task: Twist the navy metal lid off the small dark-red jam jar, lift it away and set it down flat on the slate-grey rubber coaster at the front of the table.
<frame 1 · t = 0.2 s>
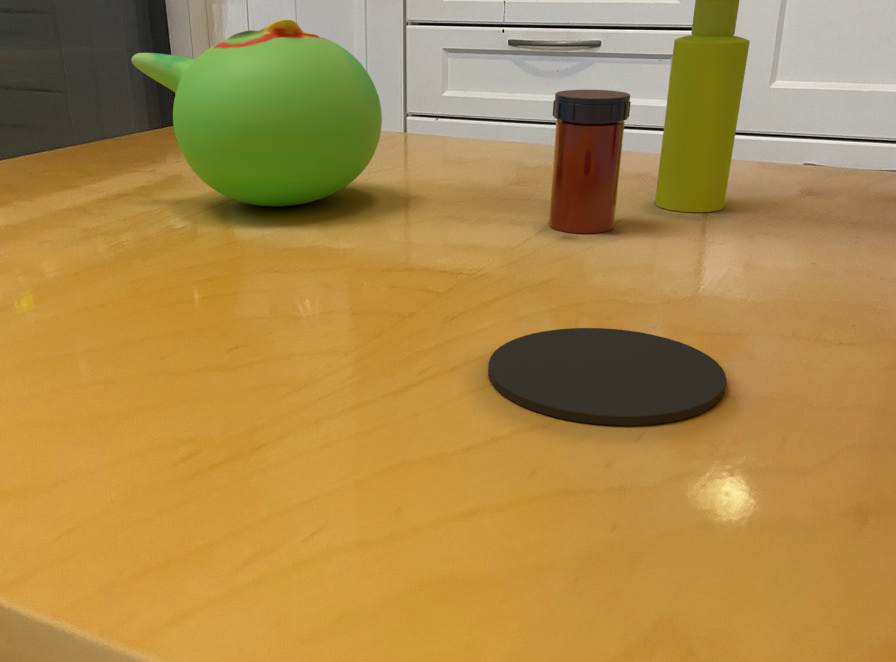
lid: (592, 99, 71), point 9 cm above the table, screwed on, not yet turned
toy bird: (281, 204, 84), on the table
jar: (581, 225, 76), on the table
coaster: (604, 376, 49), on the table
soap dispenser: (693, 206, 83), on the table
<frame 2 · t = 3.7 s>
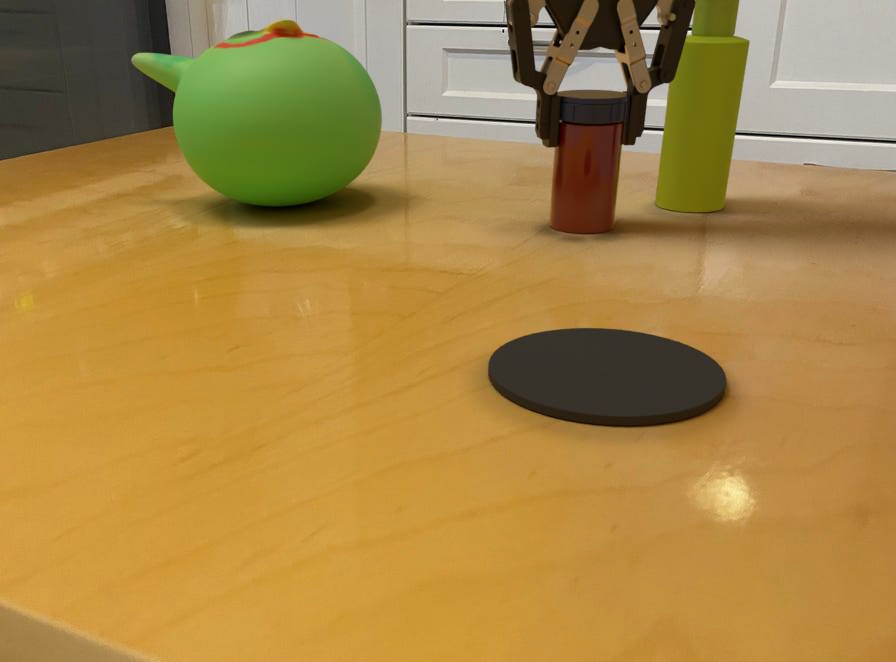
hand: (587, 144, 73), 6 cm above the table, tool pointing down, fingers closed on lid, 5 cm apart
lid: (592, 99, 71), point 9 cm above the table, screwed on, not yet turned, touching gripper
everything else where it was.
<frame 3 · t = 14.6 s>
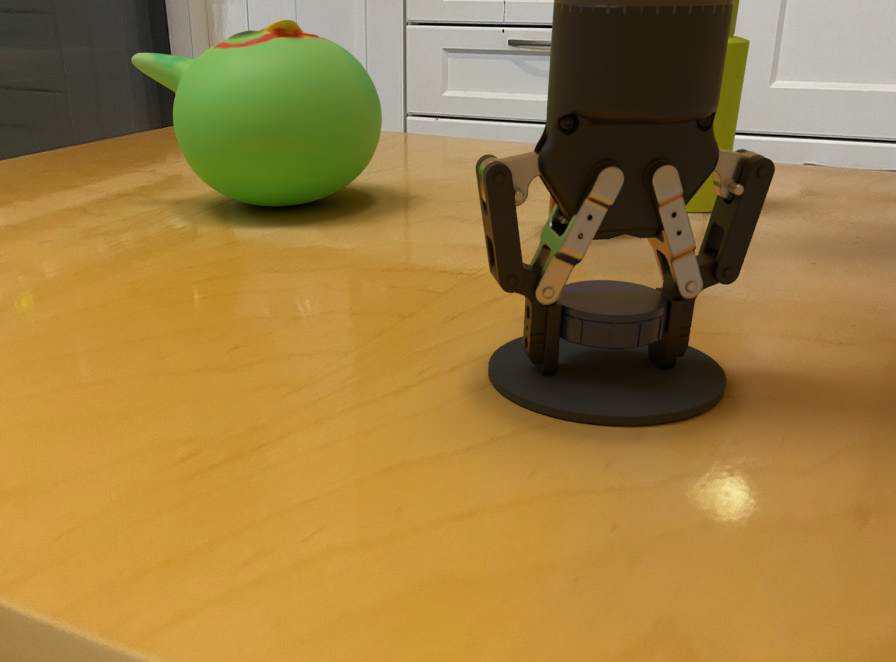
hand: (603, 365, 48), 1 cm above the table, tool pointing down, fingers closed on lid, 5 cm apart
lid: (609, 304, 47), point 4 cm above the table, off its thread, touching gripper
jar: (580, 229, 75), on the table
everything else where it was.
when the fingers open (1 cm above the table, at t = 22.8 s): lid stays where it is, resting on coaster.
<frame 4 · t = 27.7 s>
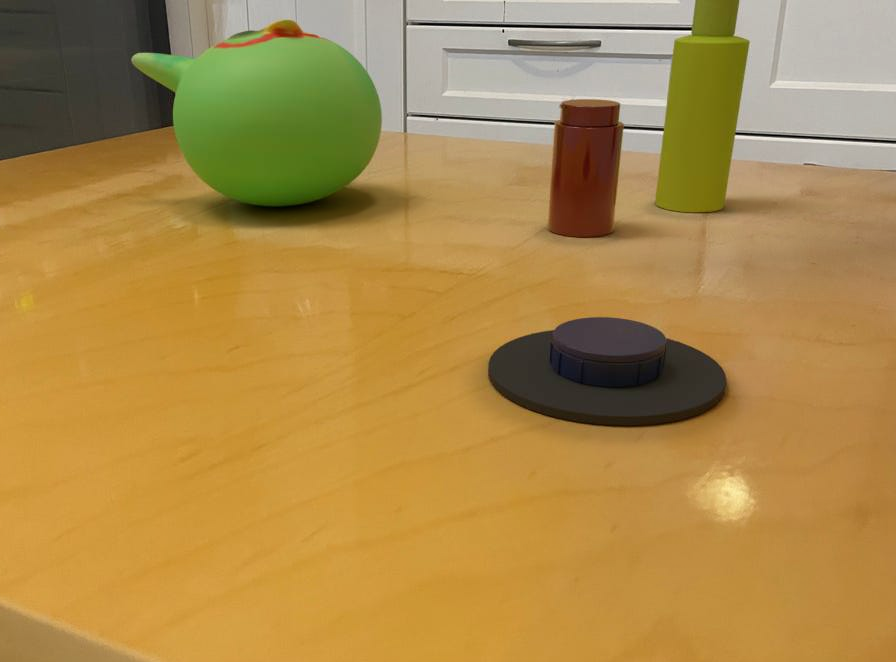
lid: (608, 342, 48), point 2 cm above the table, off its thread, touching coaster
everything else where it was.
at the end: lid came off its thread; lid inside the target area on the coaster (0.1 cm from its centre), point 1.8 cm above the coaster's base; the gripper is holding nothing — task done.
